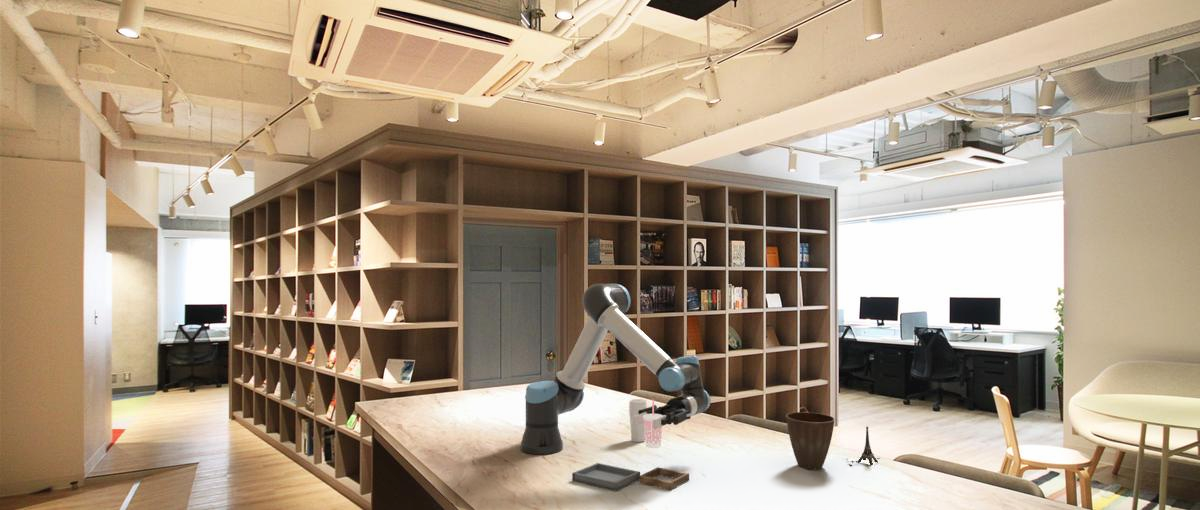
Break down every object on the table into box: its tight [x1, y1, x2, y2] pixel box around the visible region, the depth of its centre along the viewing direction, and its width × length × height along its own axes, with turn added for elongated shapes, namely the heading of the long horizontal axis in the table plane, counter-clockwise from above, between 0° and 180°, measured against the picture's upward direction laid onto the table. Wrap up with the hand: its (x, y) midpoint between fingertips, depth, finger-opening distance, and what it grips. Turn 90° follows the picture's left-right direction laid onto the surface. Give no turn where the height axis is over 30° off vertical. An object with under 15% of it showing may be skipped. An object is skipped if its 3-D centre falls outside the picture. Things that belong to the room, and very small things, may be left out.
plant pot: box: [785, 411, 835, 471], centre depth 202 cm, size 15×15×16 cm
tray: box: [571, 462, 641, 492], centre depth 188 cm, size 16×13×2 cm
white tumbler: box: [628, 398, 648, 443], centre depth 235 cm, size 7×7×15 cm
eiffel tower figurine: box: [846, 426, 881, 466], centre depth 207 cm, size 15×10×13 cm
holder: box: [638, 466, 690, 491], centre depth 186 cm, size 11×11×2 cm
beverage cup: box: [643, 398, 663, 449], centre depth 187 cm, size 6×6×14 cm
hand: (644, 422), depth 183 cm, fingers closed on beverage cup, 6 cm apart
